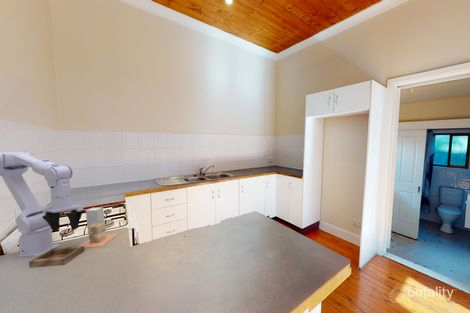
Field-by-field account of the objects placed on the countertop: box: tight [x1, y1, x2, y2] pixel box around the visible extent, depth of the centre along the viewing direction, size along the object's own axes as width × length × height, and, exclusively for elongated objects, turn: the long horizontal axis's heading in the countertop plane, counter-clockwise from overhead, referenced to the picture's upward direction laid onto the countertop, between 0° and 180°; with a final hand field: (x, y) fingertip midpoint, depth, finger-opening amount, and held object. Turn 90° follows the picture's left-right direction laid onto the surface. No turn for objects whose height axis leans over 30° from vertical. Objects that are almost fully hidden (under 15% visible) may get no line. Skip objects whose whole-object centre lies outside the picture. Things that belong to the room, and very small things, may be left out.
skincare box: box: [85, 207, 106, 235], centre depth 91 cm, size 6×4×12 cm
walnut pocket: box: [28, 245, 85, 268], centre depth 68 cm, size 12×8×2 cm
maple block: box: [87, 223, 106, 243], centre depth 80 cm, size 4×4×7 cm
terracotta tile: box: [77, 233, 120, 249], centre depth 80 cm, size 11×11×1 cm
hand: (65, 229), depth 73 cm, fingers open, 7 cm apart
